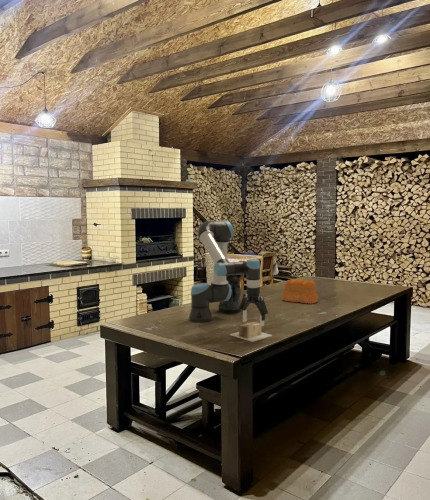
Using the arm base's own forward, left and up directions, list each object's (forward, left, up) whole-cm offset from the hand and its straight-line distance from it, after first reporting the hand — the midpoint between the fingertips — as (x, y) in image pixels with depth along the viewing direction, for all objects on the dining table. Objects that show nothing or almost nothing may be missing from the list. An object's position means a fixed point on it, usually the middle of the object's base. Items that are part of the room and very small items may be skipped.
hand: (253, 323), depth 250 cm
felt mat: (0, -2, -7) cm, 7 cm away
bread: (-41, +95, -7) cm, 104 cm away
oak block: (0, +3, -3) cm, 4 cm away
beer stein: (-53, +33, -7) cm, 63 cm away
